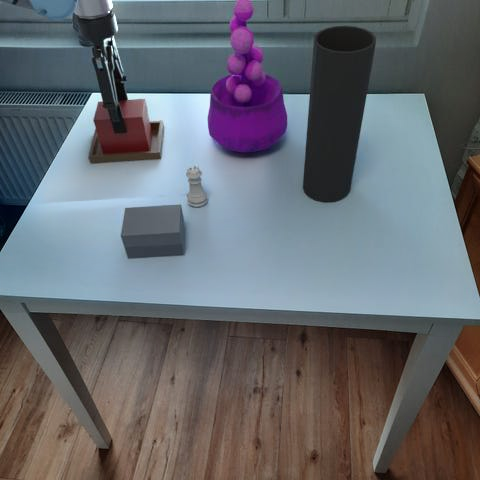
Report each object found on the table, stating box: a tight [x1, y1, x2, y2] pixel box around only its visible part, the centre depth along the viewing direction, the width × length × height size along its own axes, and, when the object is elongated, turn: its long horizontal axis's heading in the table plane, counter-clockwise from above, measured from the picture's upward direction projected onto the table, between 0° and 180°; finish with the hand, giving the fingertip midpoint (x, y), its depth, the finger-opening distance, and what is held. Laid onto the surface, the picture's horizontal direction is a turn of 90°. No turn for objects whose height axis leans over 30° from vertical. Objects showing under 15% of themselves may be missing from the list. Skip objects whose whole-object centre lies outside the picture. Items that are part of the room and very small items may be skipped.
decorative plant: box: [207, 0, 288, 153], centre depth 102 cm, size 19×18×30 cm
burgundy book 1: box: [92, 98, 149, 132], centre depth 108 cm, size 11×8×3 cm
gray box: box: [120, 203, 186, 260], centre depth 92 cm, size 11×8×6 cm
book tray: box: [87, 120, 165, 165], centre depth 114 cm, size 17×14×3 cm
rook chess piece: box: [185, 165, 209, 208], centre depth 98 cm, size 4×4×8 cm
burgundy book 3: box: [101, 125, 152, 154], centre depth 113 cm, size 11×8×3 cm
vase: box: [302, 25, 377, 203], centre depth 90 cm, size 10×10×30 cm
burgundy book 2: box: [97, 112, 151, 144], centre depth 110 cm, size 11×8×3 cm
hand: (122, 121), depth 109 cm, fingers open, 8 cm apart
